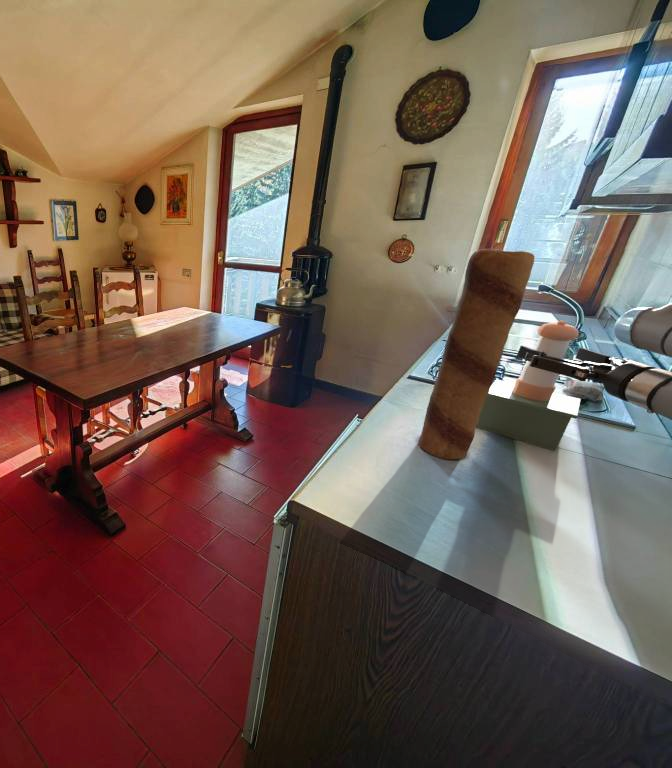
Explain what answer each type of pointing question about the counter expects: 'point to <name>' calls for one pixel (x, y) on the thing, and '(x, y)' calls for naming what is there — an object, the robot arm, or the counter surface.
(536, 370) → the pepper shaker
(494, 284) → the wafer roll
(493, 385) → the lid
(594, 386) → the packaged food
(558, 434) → the green box
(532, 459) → the counter surface
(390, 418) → the counter surface
